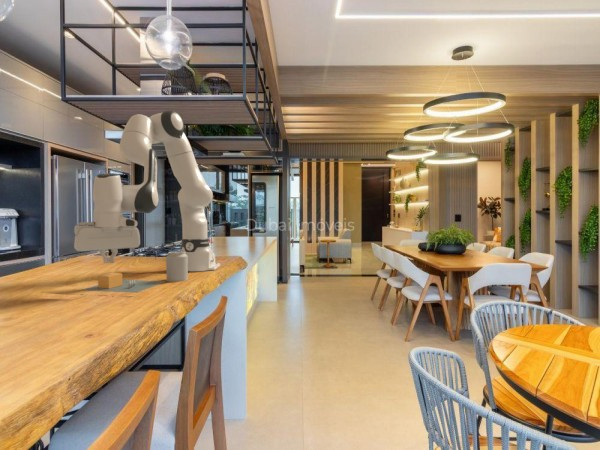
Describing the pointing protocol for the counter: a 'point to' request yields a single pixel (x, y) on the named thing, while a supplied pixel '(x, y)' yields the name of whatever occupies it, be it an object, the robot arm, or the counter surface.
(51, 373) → the counter surface
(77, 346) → the counter surface
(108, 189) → the robot arm
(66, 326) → the counter surface
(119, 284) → the orange rectangular block
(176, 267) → the can
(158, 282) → the header board
